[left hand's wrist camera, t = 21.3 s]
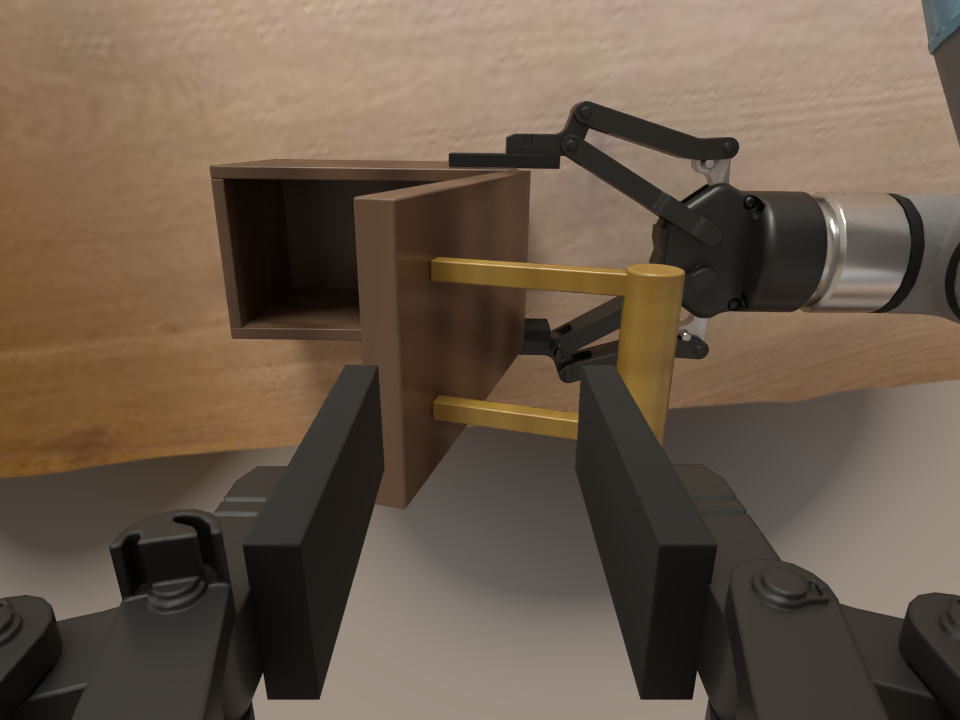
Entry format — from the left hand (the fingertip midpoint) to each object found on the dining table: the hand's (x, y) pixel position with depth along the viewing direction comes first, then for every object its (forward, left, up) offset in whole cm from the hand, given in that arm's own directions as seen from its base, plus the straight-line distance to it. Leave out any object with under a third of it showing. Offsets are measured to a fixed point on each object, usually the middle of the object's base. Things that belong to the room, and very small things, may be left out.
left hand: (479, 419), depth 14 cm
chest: (-7, -1, -33) cm, 34 cm away
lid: (-1, 0, -13) cm, 13 cm away
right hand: (-2, 0, -26) cm, 26 cm away
